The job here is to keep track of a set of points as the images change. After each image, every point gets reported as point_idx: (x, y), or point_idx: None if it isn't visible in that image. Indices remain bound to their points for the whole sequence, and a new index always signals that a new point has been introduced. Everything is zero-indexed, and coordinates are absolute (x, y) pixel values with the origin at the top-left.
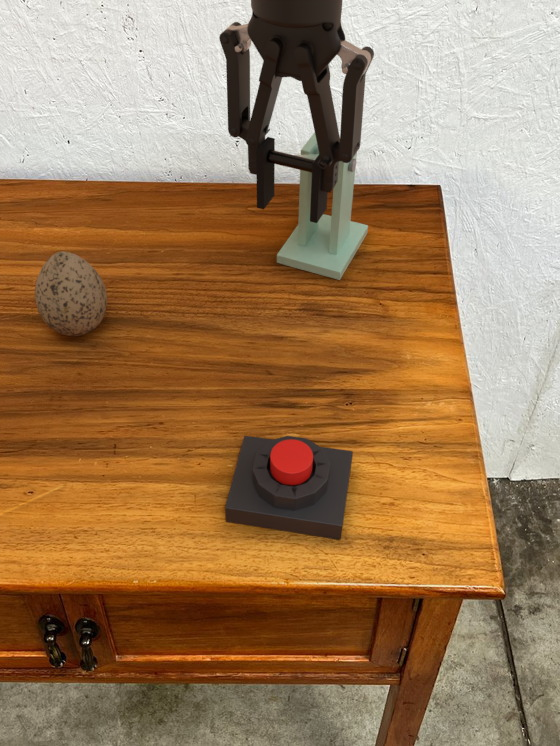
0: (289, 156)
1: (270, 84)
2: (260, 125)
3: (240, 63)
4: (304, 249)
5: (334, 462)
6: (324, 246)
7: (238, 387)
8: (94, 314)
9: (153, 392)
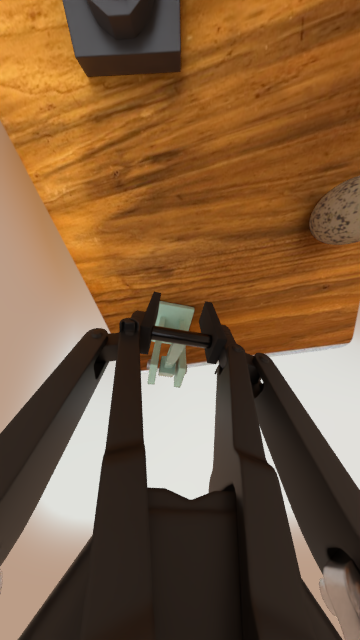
0: (185, 340)
1: (242, 463)
2: (231, 368)
3: (333, 514)
4: (179, 317)
5: (83, 23)
6: (169, 321)
7: (199, 171)
8: (330, 196)
9: (265, 144)
